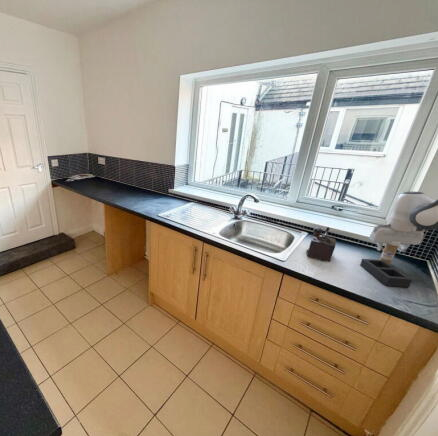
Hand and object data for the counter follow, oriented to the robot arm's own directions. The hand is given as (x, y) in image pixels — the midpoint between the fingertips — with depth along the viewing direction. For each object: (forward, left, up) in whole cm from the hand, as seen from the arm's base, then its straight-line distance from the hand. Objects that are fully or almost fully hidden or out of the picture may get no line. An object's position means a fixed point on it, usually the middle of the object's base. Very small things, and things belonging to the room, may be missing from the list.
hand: (390, 250), depth 120 cm
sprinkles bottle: (0, 0, -8) cm, 8 cm away
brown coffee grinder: (+31, -2, -8) cm, 32 cm away
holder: (+9, +12, -8) cm, 17 cm away
